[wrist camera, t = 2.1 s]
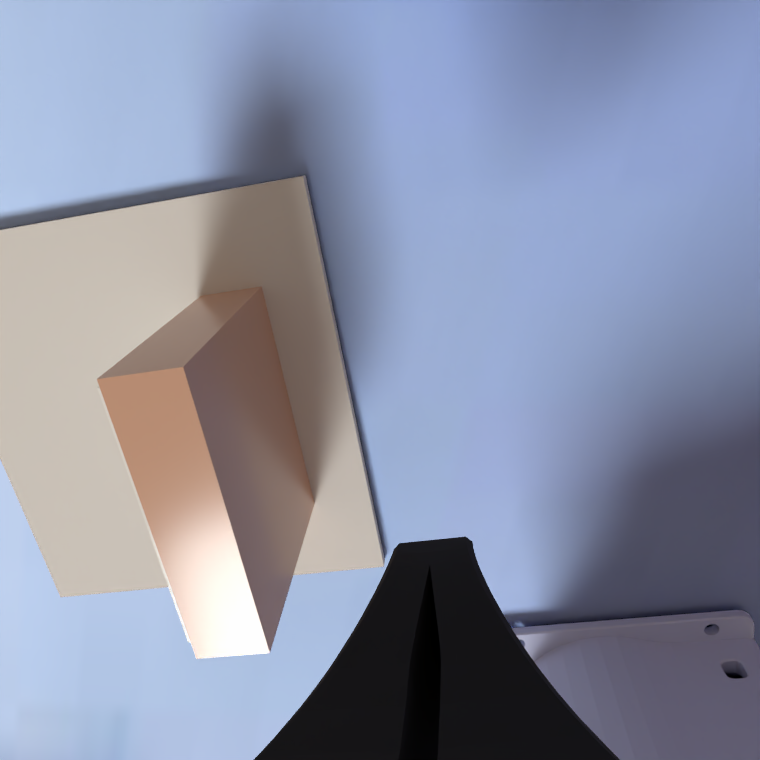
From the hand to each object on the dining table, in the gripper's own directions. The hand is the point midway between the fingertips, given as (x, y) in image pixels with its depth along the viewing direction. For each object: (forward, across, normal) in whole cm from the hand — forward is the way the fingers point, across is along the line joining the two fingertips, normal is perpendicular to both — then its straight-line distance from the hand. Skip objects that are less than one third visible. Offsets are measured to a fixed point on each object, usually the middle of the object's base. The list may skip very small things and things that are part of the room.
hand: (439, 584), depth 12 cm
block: (+10, +6, 0) cm, 12 cm away
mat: (+10, +9, 0) cm, 14 cm away
